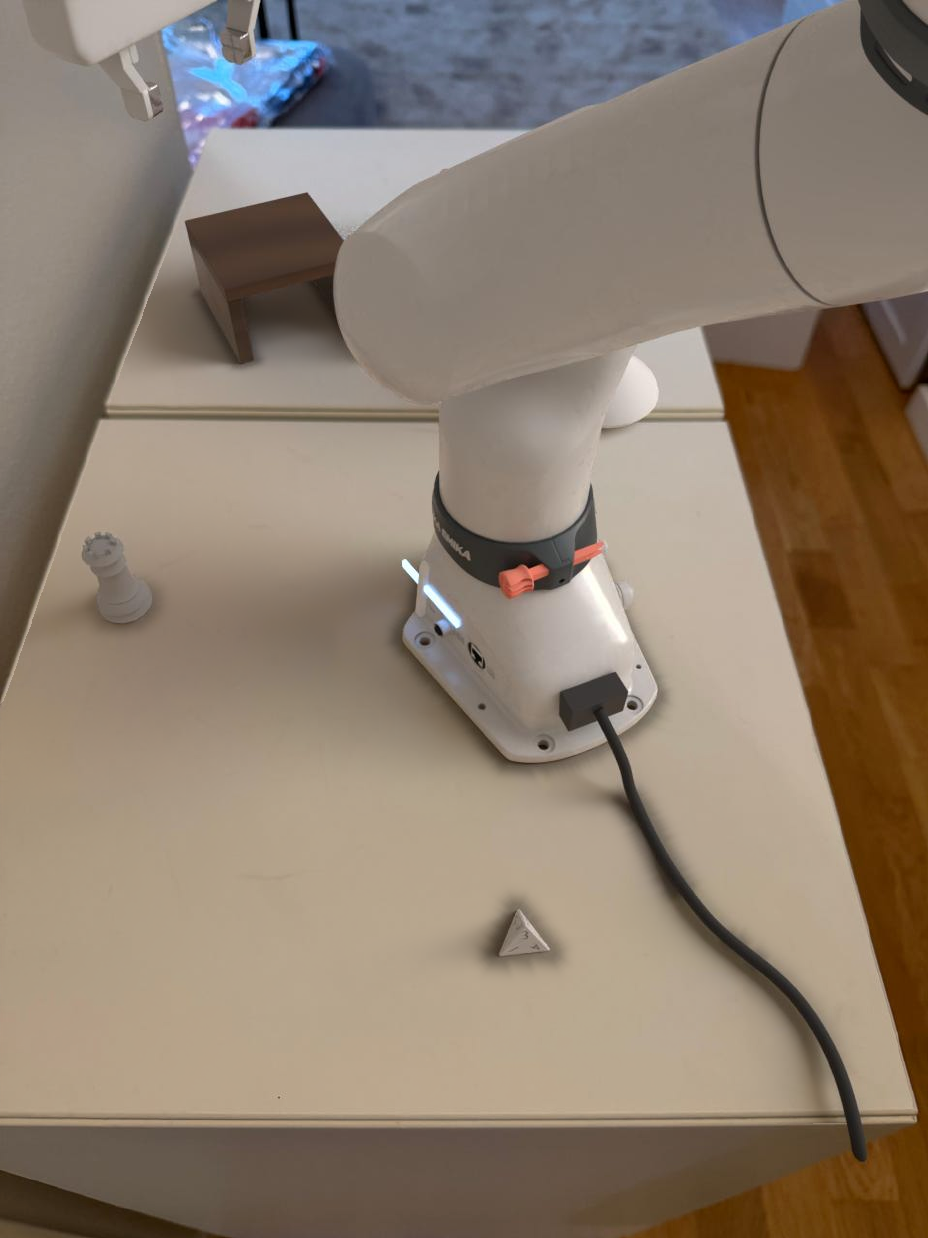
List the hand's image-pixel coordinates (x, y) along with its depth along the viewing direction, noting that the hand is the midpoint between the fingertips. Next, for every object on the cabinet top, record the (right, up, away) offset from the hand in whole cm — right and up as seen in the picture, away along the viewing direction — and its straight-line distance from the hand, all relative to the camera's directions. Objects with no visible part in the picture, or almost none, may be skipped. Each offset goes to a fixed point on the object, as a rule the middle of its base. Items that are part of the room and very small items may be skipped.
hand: (195, 86), depth 60 cm
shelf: (-3, 0, +44) cm, 44 cm away
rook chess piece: (-11, -34, +18) cm, 40 cm away
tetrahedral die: (+22, -57, +2) cm, 61 cm away
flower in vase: (+32, -12, +36) cm, 49 cm away
